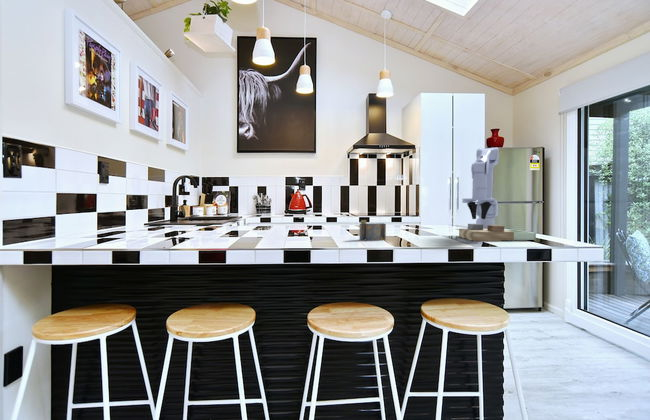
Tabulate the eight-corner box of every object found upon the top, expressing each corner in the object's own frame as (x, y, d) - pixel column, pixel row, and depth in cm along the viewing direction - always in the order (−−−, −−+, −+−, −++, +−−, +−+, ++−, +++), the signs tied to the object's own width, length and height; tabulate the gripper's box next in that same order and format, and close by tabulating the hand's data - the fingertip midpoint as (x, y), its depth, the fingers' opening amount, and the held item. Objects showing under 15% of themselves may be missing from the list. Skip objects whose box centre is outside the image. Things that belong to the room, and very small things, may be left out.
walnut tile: (487, 230, 158) (487, 224, 157) (498, 230, 158) (498, 224, 158) (493, 231, 153) (493, 225, 152) (504, 231, 153) (504, 225, 153)
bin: (495, 236, 167) (495, 229, 166) (515, 236, 167) (515, 229, 167) (513, 240, 152) (513, 233, 151) (535, 240, 152) (535, 232, 152)
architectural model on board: (361, 241, 151) (361, 219, 151) (359, 240, 154) (359, 219, 154) (385, 241, 153) (386, 219, 152) (383, 240, 156) (384, 218, 155)
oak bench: (459, 236, 166) (459, 228, 166) (495, 236, 167) (495, 228, 166) (473, 240, 151) (473, 231, 151) (513, 240, 152) (513, 231, 151)
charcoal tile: (467, 228, 164) (467, 223, 164) (478, 228, 165) (478, 223, 164) (472, 229, 159) (472, 224, 159) (483, 229, 160) (483, 224, 159)
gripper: (467, 188, 150) (466, 219, 150) (500, 188, 150) (499, 219, 151) (460, 188, 157) (459, 218, 157) (491, 189, 157) (490, 218, 158)
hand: (478, 219), depth 155 cm, fingers open, 4 cm apart
